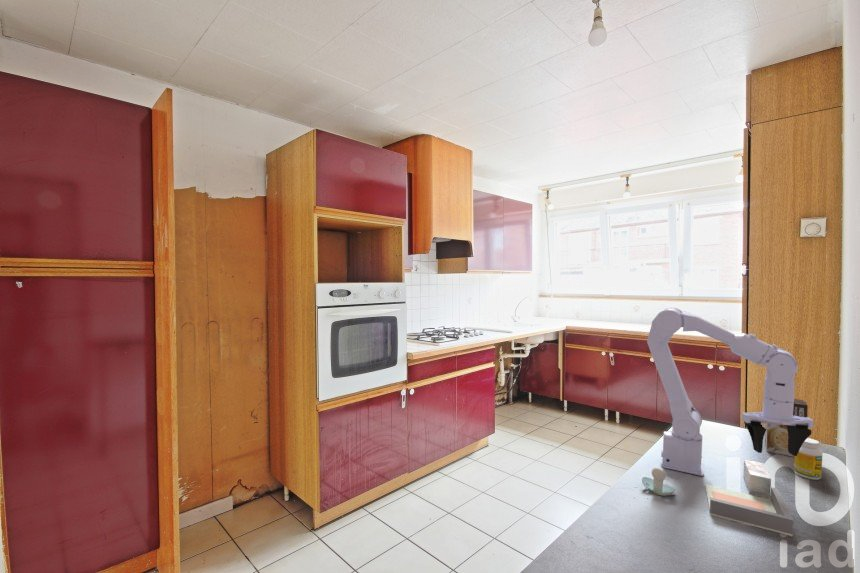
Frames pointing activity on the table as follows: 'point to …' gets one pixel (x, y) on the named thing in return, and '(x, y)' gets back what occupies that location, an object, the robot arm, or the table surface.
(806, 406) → the coffee box
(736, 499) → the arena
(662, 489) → the pacifier
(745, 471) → the aluminium bar
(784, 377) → the robot arm
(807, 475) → the supplement bottle
